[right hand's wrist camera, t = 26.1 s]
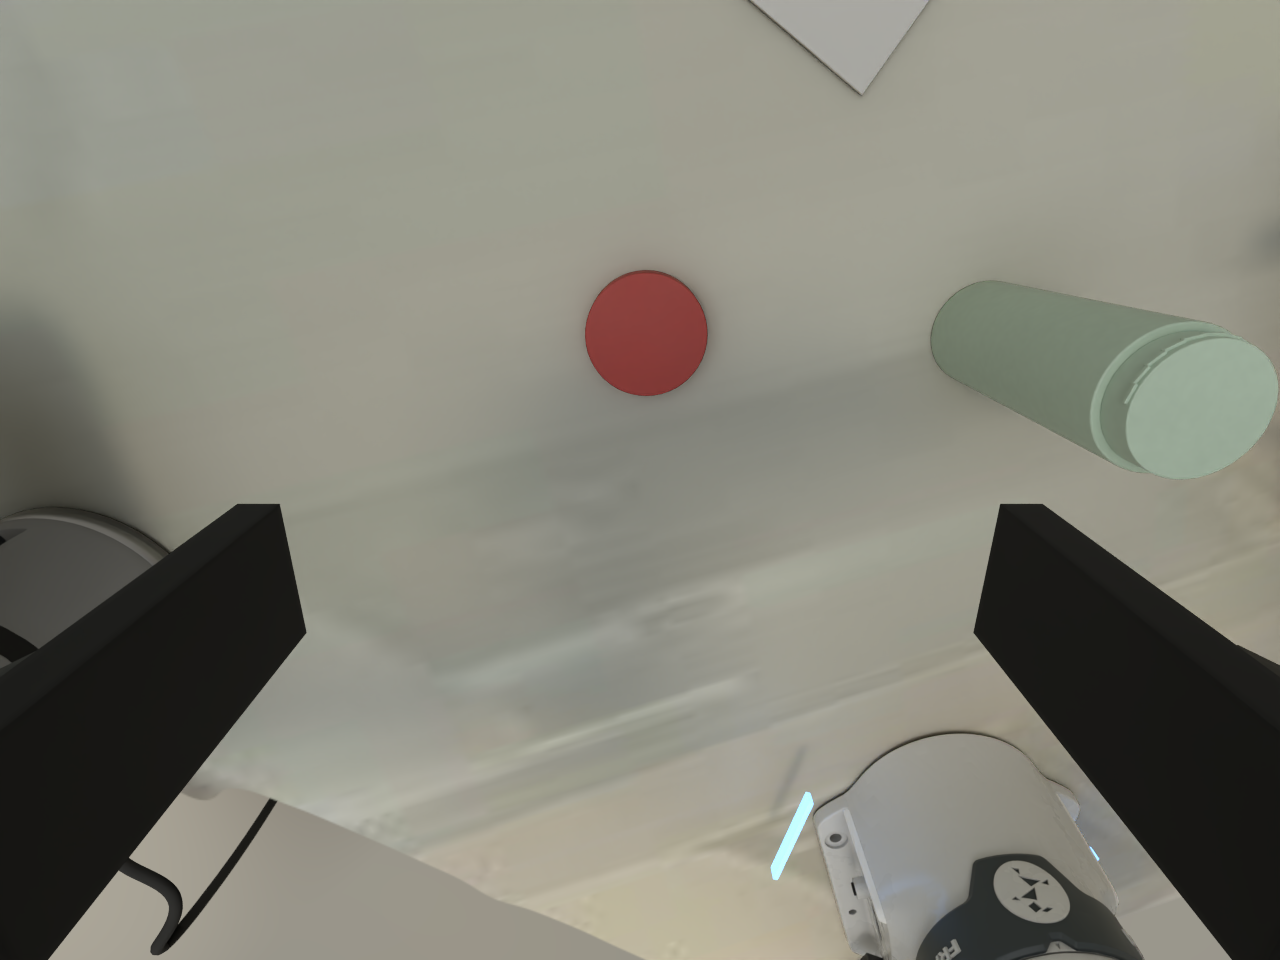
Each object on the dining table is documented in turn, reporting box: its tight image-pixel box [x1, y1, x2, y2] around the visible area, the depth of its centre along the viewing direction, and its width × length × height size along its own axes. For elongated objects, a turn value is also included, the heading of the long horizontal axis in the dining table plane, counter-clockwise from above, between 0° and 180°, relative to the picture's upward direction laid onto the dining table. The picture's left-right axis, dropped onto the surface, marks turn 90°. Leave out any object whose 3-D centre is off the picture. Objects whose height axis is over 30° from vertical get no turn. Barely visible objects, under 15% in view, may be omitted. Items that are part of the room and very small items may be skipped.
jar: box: [931, 281, 1278, 480], centre depth 30 cm, size 6×6×16 cm
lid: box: [585, 270, 707, 396], centre depth 37 cm, size 6×6×2 cm
